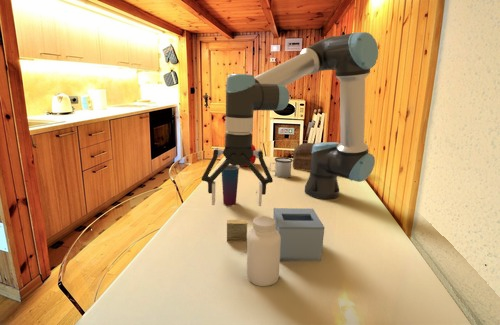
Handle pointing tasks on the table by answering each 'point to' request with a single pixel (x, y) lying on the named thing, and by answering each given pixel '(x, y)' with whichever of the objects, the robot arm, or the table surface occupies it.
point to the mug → (282, 167)
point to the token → (237, 230)
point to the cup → (230, 184)
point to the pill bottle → (263, 252)
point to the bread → (303, 156)
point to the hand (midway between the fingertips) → (236, 204)
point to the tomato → (252, 156)
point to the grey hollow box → (299, 234)
